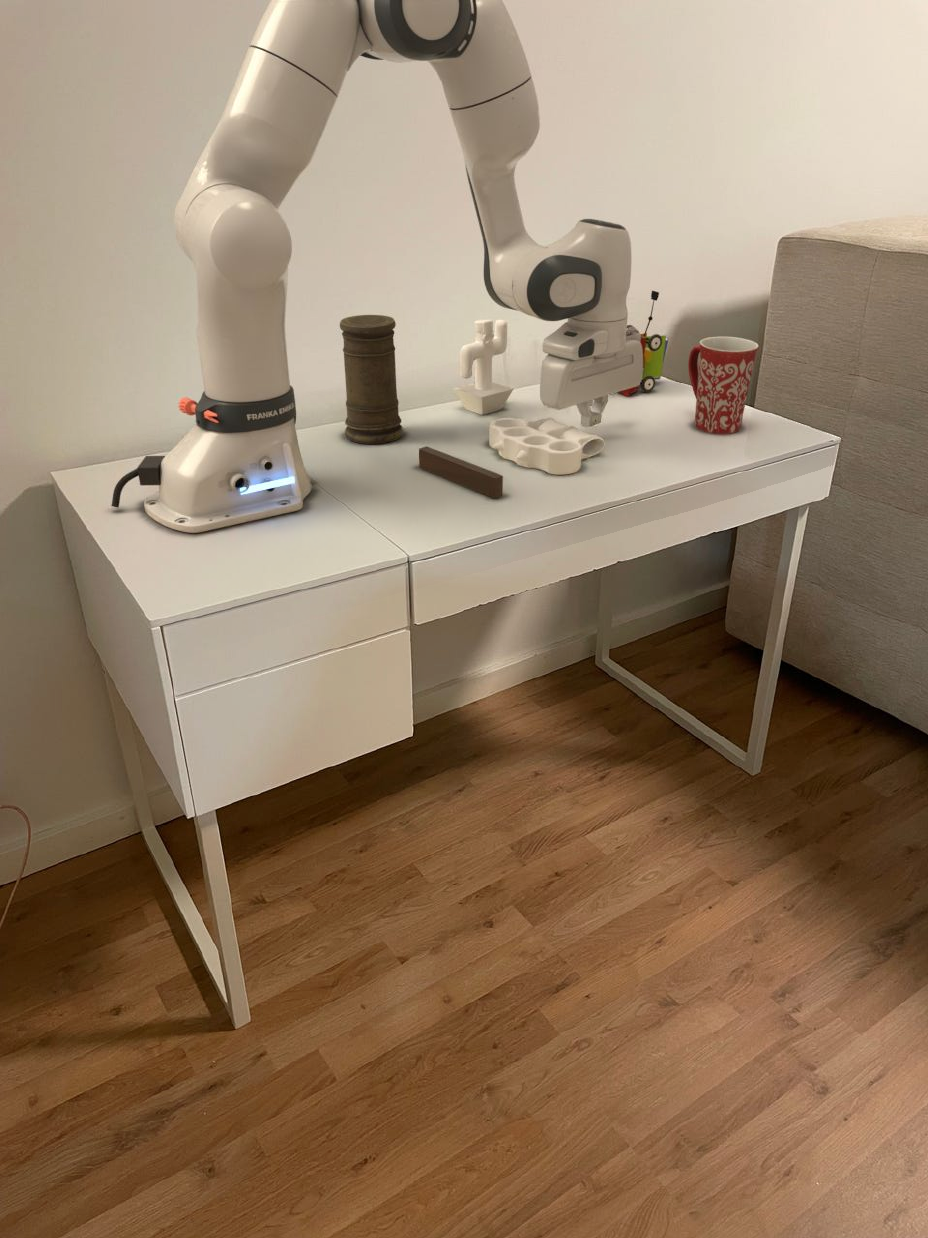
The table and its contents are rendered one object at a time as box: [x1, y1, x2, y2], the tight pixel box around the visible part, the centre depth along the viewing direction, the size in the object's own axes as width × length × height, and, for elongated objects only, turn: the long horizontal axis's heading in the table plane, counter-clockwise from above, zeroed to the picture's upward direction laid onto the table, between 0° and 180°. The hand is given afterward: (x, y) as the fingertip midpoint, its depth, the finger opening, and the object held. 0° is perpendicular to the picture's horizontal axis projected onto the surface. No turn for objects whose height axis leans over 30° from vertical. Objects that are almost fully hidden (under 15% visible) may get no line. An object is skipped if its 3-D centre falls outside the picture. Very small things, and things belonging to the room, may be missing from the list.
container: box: [339, 314, 404, 445], centre depth 150 cm, size 9×9×18 cm
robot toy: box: [618, 290, 669, 397], centre depth 172 cm, size 17×9×20 cm
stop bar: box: [418, 445, 504, 500], centre depth 136 cm, size 2×16×3 cm, turn 42°
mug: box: [687, 336, 760, 435], centre depth 155 cm, size 13×9×14 cm
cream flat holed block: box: [488, 417, 606, 476], centre depth 146 cm, size 3×18×15 cm
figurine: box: [453, 318, 514, 416], centre depth 162 cm, size 7×9×15 cm
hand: (590, 424), depth 152 cm, fingers closed
